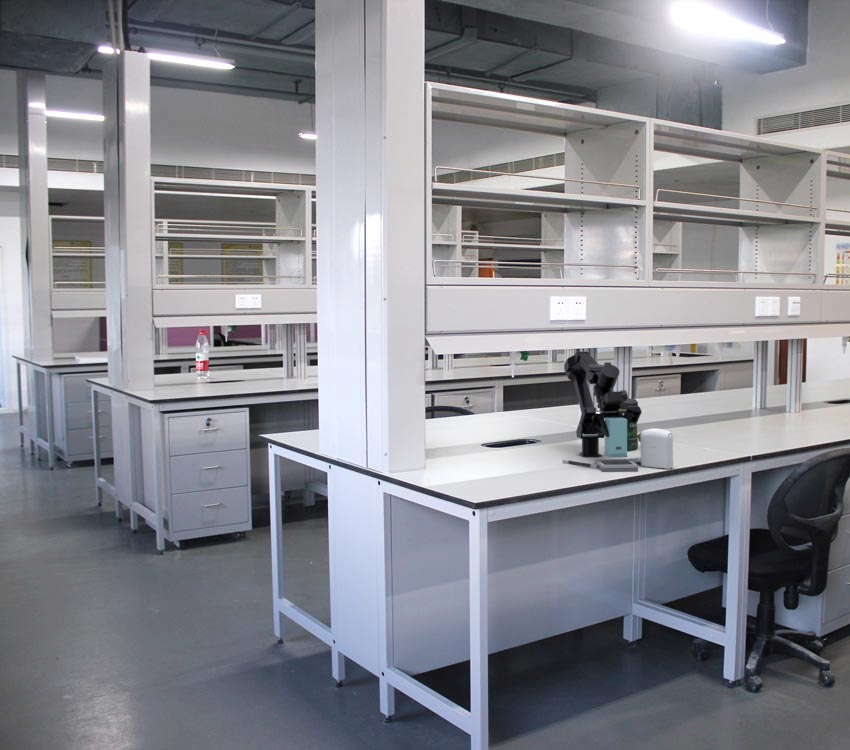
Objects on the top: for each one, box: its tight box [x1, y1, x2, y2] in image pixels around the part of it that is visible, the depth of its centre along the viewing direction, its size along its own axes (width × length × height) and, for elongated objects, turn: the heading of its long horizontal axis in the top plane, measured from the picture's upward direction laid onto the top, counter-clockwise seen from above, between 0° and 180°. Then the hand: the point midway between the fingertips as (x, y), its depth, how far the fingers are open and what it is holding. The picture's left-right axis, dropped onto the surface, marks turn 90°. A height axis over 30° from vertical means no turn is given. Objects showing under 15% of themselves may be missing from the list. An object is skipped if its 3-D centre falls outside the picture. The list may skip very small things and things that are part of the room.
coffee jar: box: [619, 397, 639, 452], centre depth 292 cm, size 10×8×19 cm
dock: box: [594, 458, 639, 473], centre depth 255 cm, size 11×11×2 cm
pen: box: [561, 459, 598, 469], centre depth 262 cm, size 14×1×1 cm, turn 40°
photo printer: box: [640, 427, 674, 470], centre depth 256 cm, size 10×4×12 cm, turn 47°
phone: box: [629, 457, 641, 466], centre depth 263 cm, size 7×14×1 cm, turn 105°
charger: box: [604, 417, 628, 459], centre depth 255 cm, size 5×6×12 cm
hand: (617, 436), depth 254 cm, fingers closed on charger, 5 cm apart
